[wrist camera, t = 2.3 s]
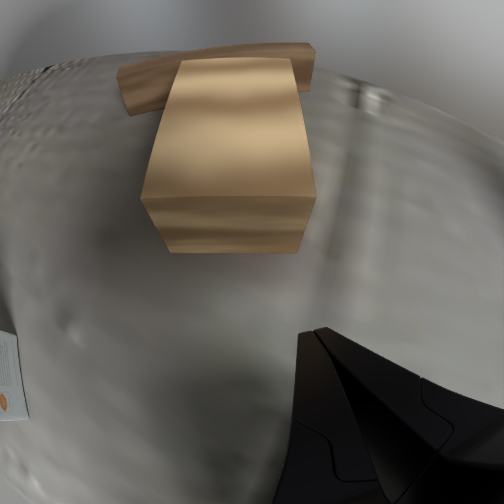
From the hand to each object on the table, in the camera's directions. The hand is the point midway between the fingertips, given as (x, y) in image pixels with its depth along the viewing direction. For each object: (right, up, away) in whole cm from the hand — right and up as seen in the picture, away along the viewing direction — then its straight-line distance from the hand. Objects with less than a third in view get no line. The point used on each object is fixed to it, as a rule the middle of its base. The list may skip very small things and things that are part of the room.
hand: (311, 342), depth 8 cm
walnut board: (-6, +22, +24) cm, 33 cm away
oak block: (-3, +10, +19) cm, 21 cm away
